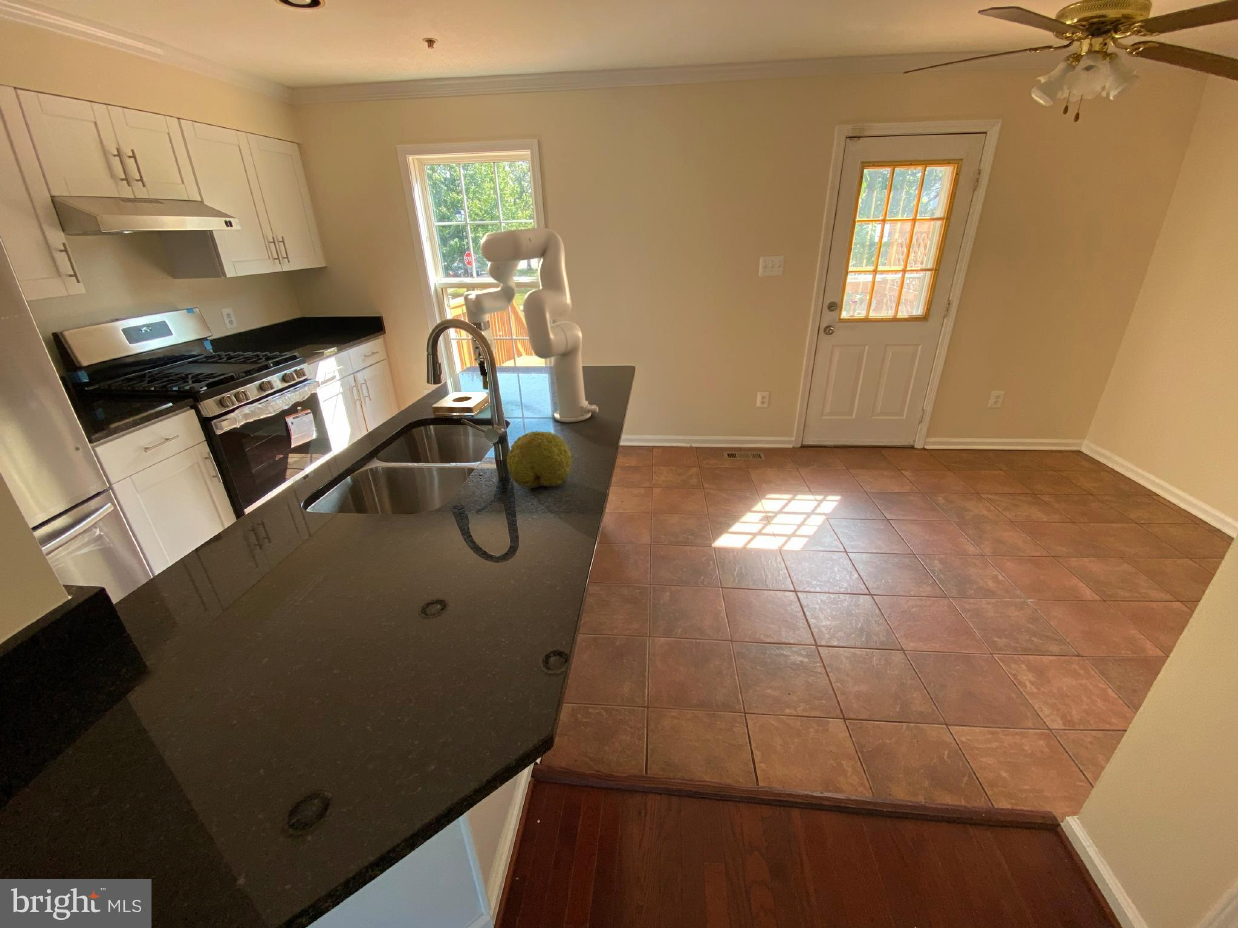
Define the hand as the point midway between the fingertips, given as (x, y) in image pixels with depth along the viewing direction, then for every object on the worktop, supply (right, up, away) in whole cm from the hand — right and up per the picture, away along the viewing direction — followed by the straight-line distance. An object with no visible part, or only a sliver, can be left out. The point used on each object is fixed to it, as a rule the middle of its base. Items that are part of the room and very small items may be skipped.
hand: (488, 373), depth 194 cm
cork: (0, -5, +3) cm, 6 cm away
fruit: (+32, -41, -67) cm, 84 cm away
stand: (-6, -15, -9) cm, 19 cm away
